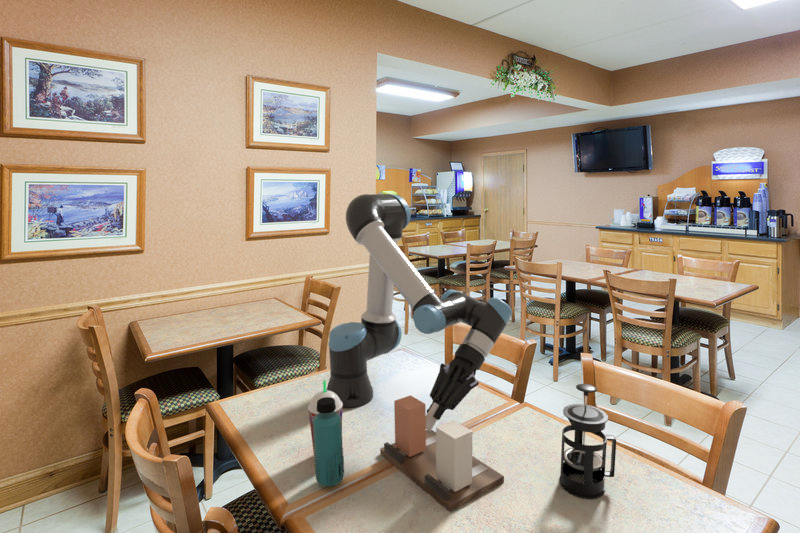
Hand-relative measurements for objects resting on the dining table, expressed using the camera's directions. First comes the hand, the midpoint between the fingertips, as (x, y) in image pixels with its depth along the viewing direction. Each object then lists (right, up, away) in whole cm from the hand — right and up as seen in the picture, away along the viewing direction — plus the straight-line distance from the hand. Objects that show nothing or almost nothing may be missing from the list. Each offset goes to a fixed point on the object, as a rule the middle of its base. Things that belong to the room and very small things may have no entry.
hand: (425, 428), depth 112 cm
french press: (+34, -8, -14) cm, 38 cm away
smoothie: (-24, -7, -1) cm, 25 cm away
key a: (+6, -6, -14) cm, 17 cm away
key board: (+3, -7, -6) cm, 10 cm away
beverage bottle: (-22, -8, -12) cm, 26 cm away
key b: (-4, -4, -2) cm, 6 cm away
